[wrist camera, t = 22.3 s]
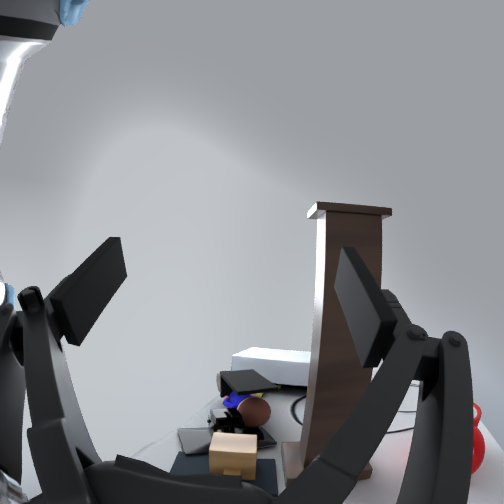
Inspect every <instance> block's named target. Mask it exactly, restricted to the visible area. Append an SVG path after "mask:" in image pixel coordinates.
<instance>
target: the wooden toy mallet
mask: <svg viewBox="0 0 504 504" xmlns="http://www.w3.org/2000/svg"><path fill="white" fill-rule="evenodd" d="M256 460H257V435H249V434H232V433H219V432H214V433H213V437H212V441H211V444H210V448H209V467H210V473H214V474H225V475H240V476H242V480H255V473H256Z"/></svg>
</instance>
